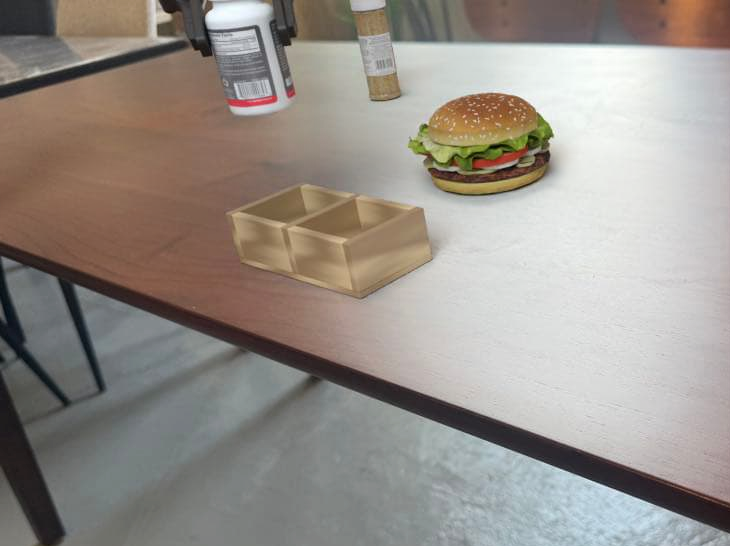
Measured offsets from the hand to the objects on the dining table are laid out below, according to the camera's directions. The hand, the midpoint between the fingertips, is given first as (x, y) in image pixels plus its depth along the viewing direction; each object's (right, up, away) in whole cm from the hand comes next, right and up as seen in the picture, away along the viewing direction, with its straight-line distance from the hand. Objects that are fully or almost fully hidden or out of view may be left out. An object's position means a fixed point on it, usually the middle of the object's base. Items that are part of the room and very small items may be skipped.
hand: (245, 44), depth 65 cm
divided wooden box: (+5, -15, +8) cm, 18 cm away
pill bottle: (0, -4, +4) cm, 6 cm away
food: (+17, -5, +22) cm, 28 cm away
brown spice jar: (+1, +16, +55) cm, 57 cm away
